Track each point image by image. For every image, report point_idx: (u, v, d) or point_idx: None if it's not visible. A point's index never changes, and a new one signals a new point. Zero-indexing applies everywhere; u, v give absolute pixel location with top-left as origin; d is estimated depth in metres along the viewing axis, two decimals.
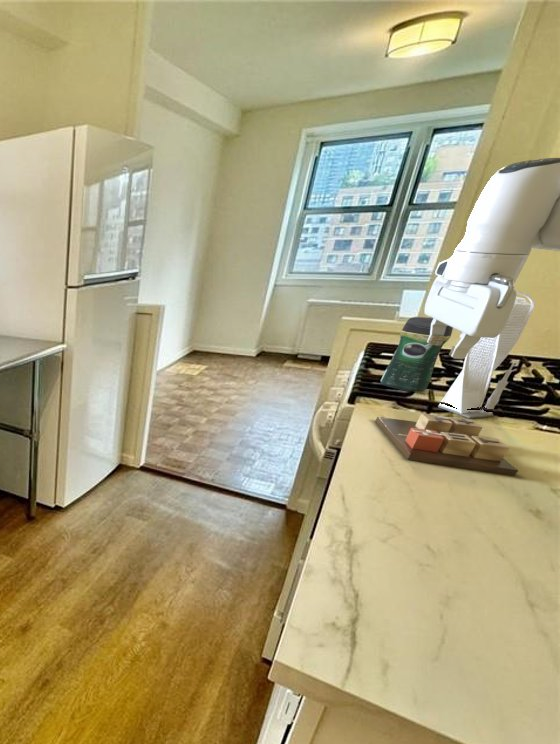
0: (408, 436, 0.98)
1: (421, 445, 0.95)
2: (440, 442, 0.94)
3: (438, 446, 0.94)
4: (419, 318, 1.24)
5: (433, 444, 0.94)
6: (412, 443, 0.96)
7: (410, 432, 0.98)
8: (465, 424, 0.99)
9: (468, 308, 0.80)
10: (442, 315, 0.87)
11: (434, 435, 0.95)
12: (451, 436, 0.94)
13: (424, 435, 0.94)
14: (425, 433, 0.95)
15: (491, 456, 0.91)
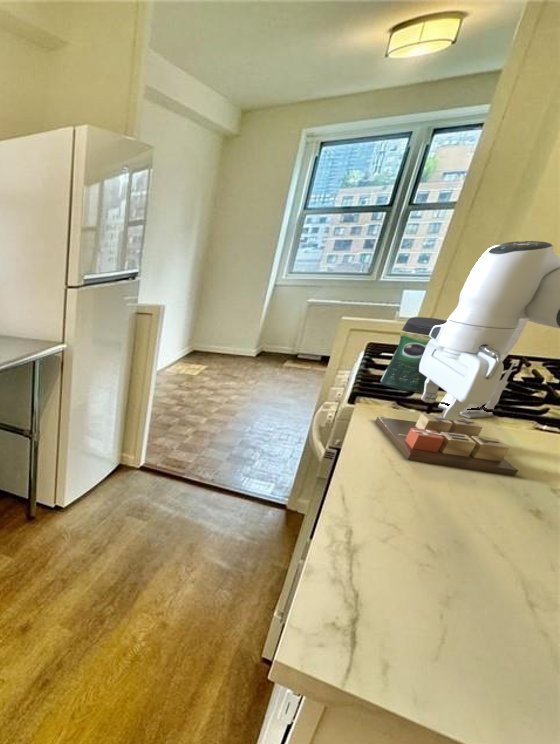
0: (408, 436, 0.98)
1: (421, 445, 0.95)
2: (440, 442, 0.94)
3: (438, 446, 0.94)
4: (419, 318, 1.24)
5: (433, 444, 0.94)
6: (412, 443, 0.96)
7: (410, 432, 0.98)
8: (465, 424, 0.99)
9: (459, 375, 0.86)
10: (435, 376, 0.93)
11: (434, 435, 0.95)
12: (451, 436, 0.94)
13: (424, 435, 0.94)
14: (425, 433, 0.95)
15: (491, 456, 0.91)
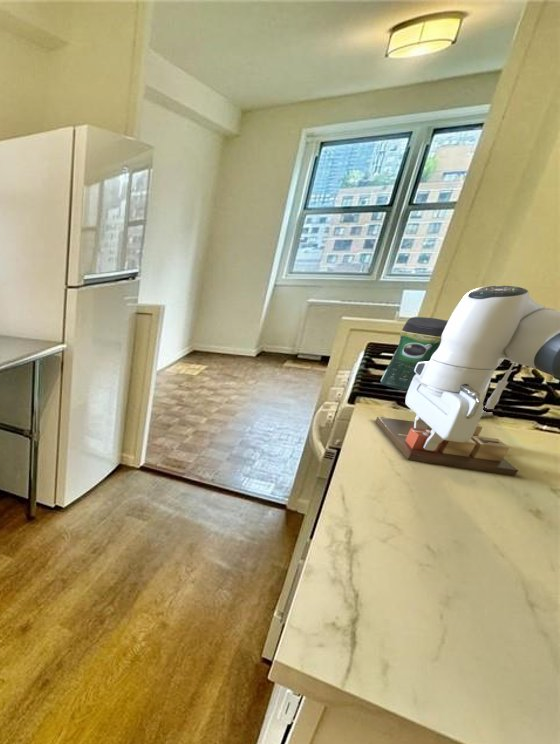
0: (408, 436, 0.98)
1: (421, 445, 0.95)
2: None
3: (438, 446, 0.94)
4: (419, 318, 1.24)
5: None
6: (412, 443, 0.96)
7: (410, 432, 0.98)
8: None
9: (442, 413, 0.89)
10: (420, 411, 0.96)
11: None
12: None
13: (424, 435, 0.94)
14: (425, 433, 0.95)
15: (491, 456, 0.91)
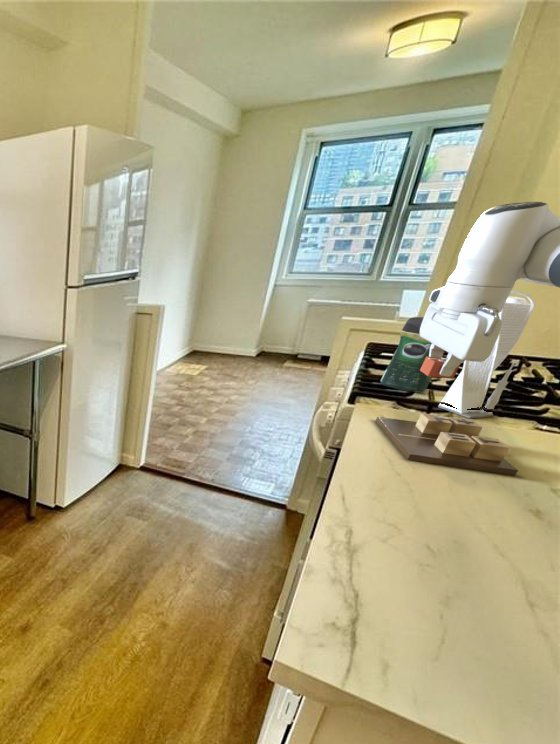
0: (423, 365, 0.98)
1: (437, 372, 0.95)
2: (456, 368, 0.93)
3: (454, 372, 0.94)
4: (419, 318, 1.24)
5: None
6: (428, 371, 0.96)
7: (425, 361, 0.97)
8: (465, 424, 0.99)
9: (459, 334, 0.89)
10: (435, 339, 0.96)
11: None
12: (451, 436, 0.94)
13: (440, 361, 0.94)
14: (441, 360, 0.95)
15: (491, 456, 0.91)
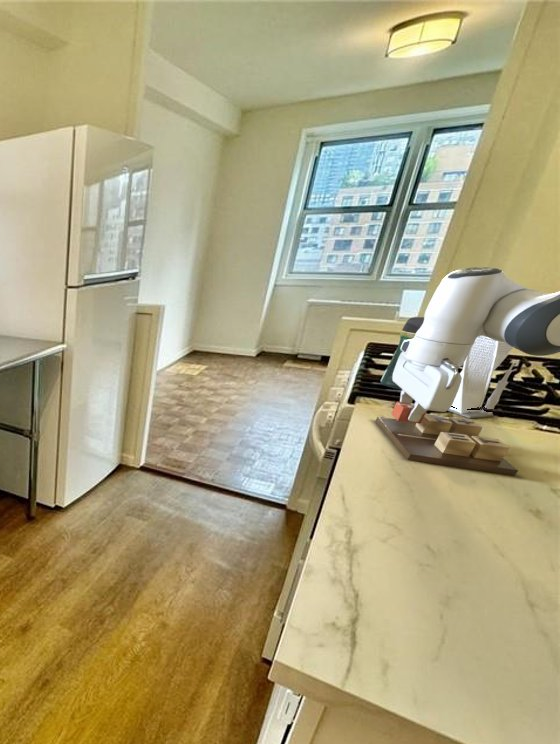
0: (394, 409, 1.05)
1: (406, 417, 1.02)
2: (423, 414, 1.01)
3: (421, 418, 1.01)
4: (419, 318, 1.24)
5: None
6: (397, 415, 1.03)
7: (396, 405, 1.05)
8: (465, 424, 0.99)
9: (424, 385, 0.96)
10: (405, 386, 1.03)
11: None
12: (451, 436, 0.94)
13: (409, 407, 1.02)
14: (409, 406, 1.02)
15: (491, 456, 0.91)
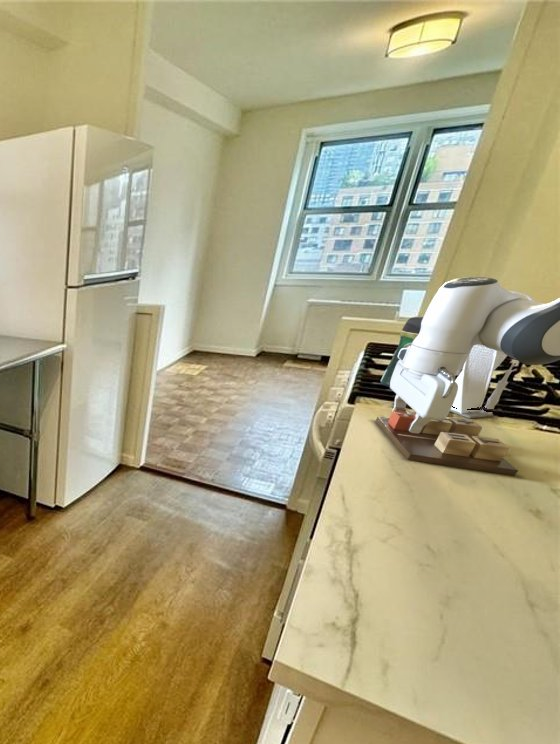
0: (390, 418, 1.06)
1: (402, 426, 1.03)
2: None
3: None
4: (419, 318, 1.24)
5: None
6: (394, 424, 1.04)
7: (392, 414, 1.06)
8: (465, 424, 0.99)
9: (421, 394, 0.97)
10: (402, 394, 1.04)
11: (413, 416, 1.03)
12: (451, 436, 0.94)
13: (405, 416, 1.03)
14: (406, 415, 1.03)
15: (491, 456, 0.91)
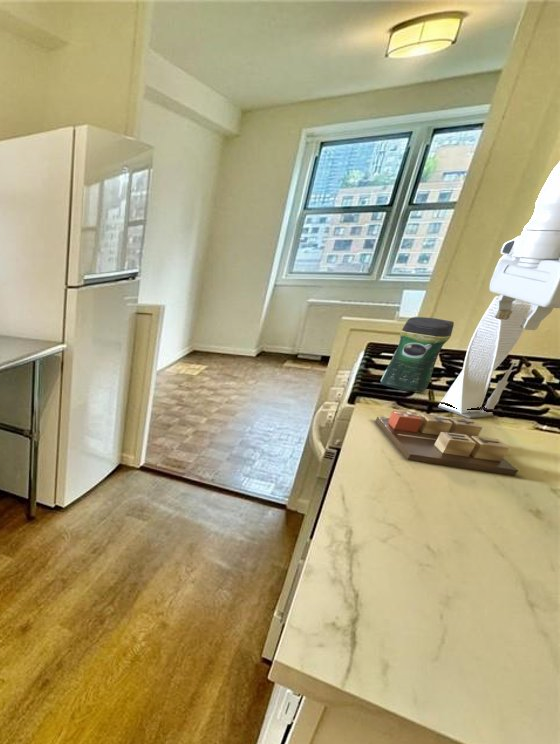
0: (390, 418, 1.06)
1: (402, 426, 1.03)
2: (419, 423, 1.02)
3: (417, 426, 1.02)
4: (419, 318, 1.24)
5: (413, 424, 1.02)
6: (394, 424, 1.04)
7: (392, 414, 1.06)
8: (465, 424, 0.99)
9: (540, 282, 0.86)
10: (511, 291, 0.94)
11: (413, 416, 1.03)
12: (451, 436, 0.94)
13: (405, 416, 1.03)
14: (406, 415, 1.03)
15: (491, 456, 0.91)
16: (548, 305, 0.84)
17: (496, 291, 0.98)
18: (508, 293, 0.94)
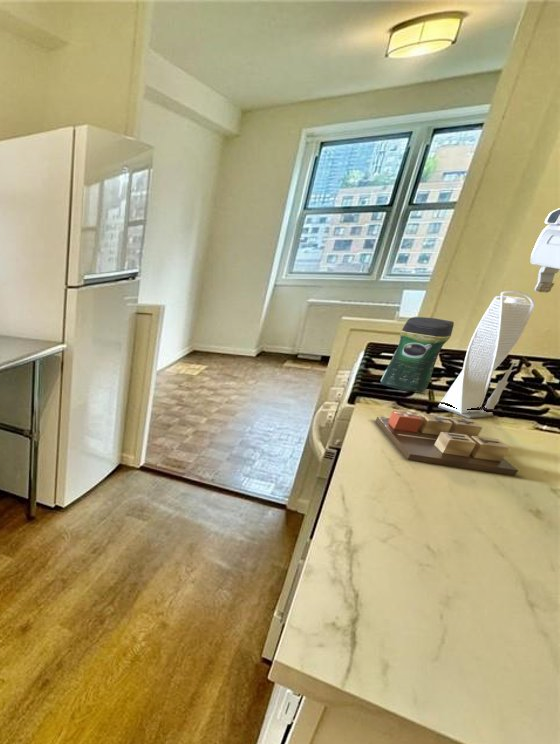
0: (390, 418, 1.06)
1: (402, 426, 1.03)
2: (419, 423, 1.02)
3: (417, 426, 1.02)
4: (419, 318, 1.24)
5: (413, 424, 1.02)
6: (394, 424, 1.04)
7: (392, 414, 1.06)
8: (465, 424, 0.99)
9: None
10: (555, 261, 0.91)
11: (413, 416, 1.03)
12: (451, 436, 0.94)
13: (405, 416, 1.03)
14: (406, 415, 1.03)
15: (491, 456, 0.91)
16: None
17: (538, 263, 0.95)
18: (552, 264, 0.92)
